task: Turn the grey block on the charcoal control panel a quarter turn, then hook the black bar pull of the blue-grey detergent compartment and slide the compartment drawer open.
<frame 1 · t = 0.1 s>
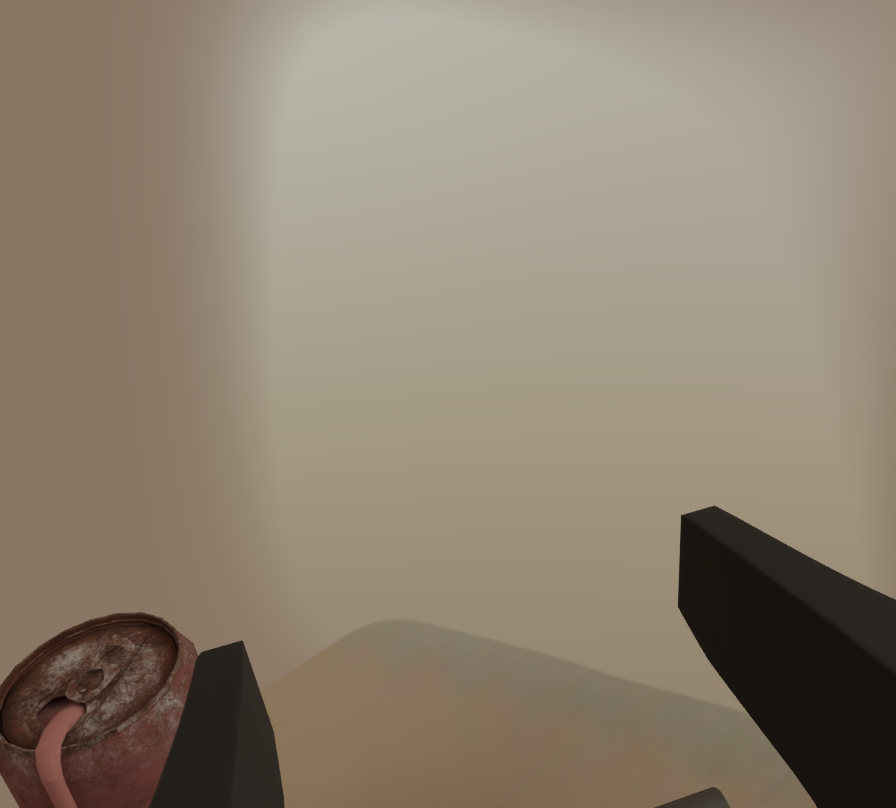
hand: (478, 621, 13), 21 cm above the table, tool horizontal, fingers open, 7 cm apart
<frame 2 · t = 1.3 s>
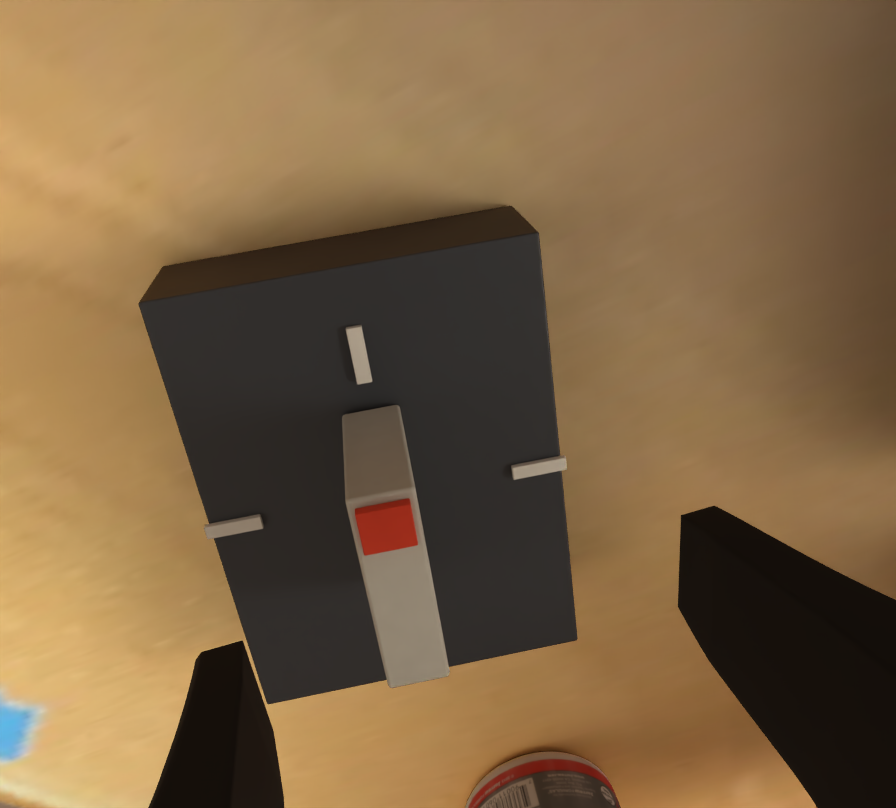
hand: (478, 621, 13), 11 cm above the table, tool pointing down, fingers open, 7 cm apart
control panel: (380, 440, 24), on the table
grey block: (394, 543, 19), point 5 cm above the table, hinge at 0.0°
pill bottle: (535, 796, 31), on the table
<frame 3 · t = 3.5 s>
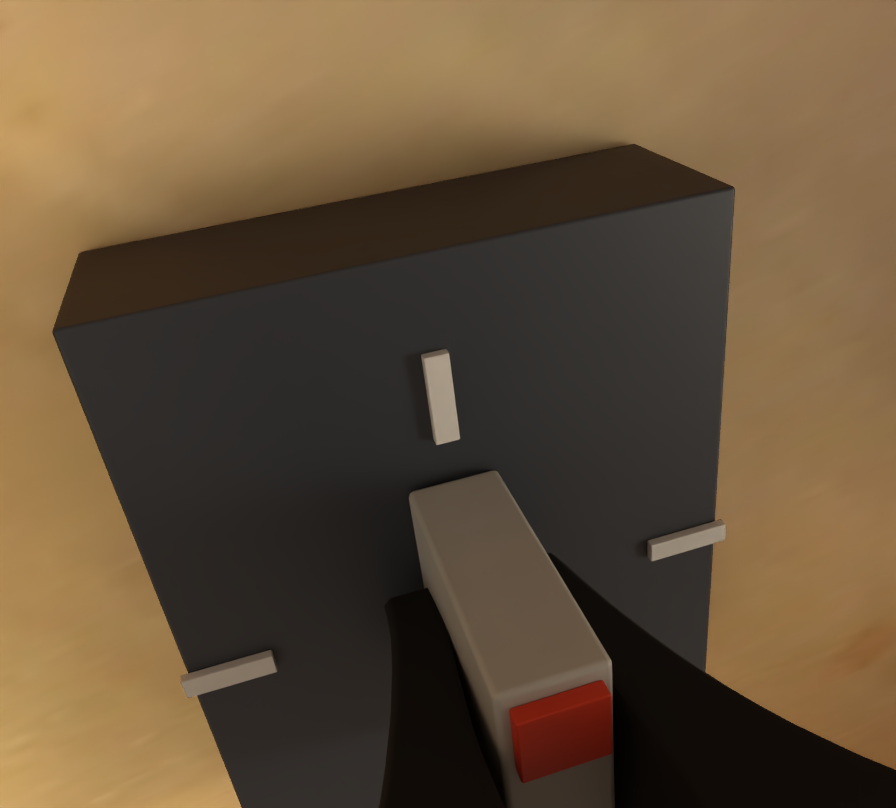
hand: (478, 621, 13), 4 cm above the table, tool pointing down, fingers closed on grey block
control panel: (423, 497, 16), on the table
grey block: (513, 702, 12), point 5 cm above the table, hinge at -0.1°, touching gripper
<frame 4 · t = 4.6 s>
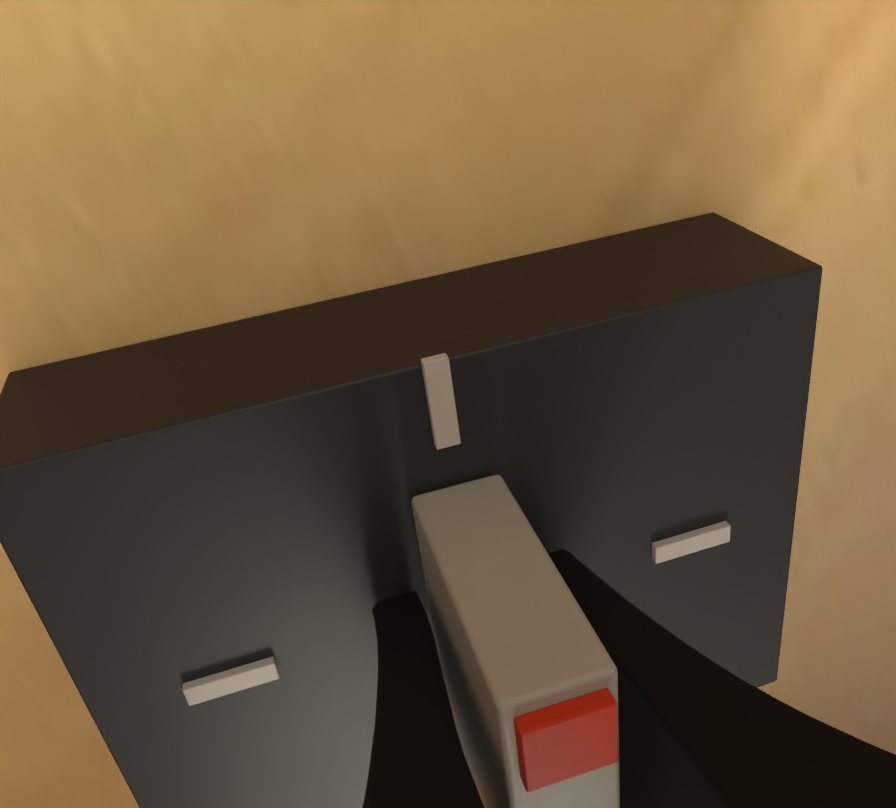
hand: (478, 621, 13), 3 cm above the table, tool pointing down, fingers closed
control panel: (425, 500, 16), on the table
grey block: (516, 708, 12), point 5 cm above the table, hinge at 89.3°
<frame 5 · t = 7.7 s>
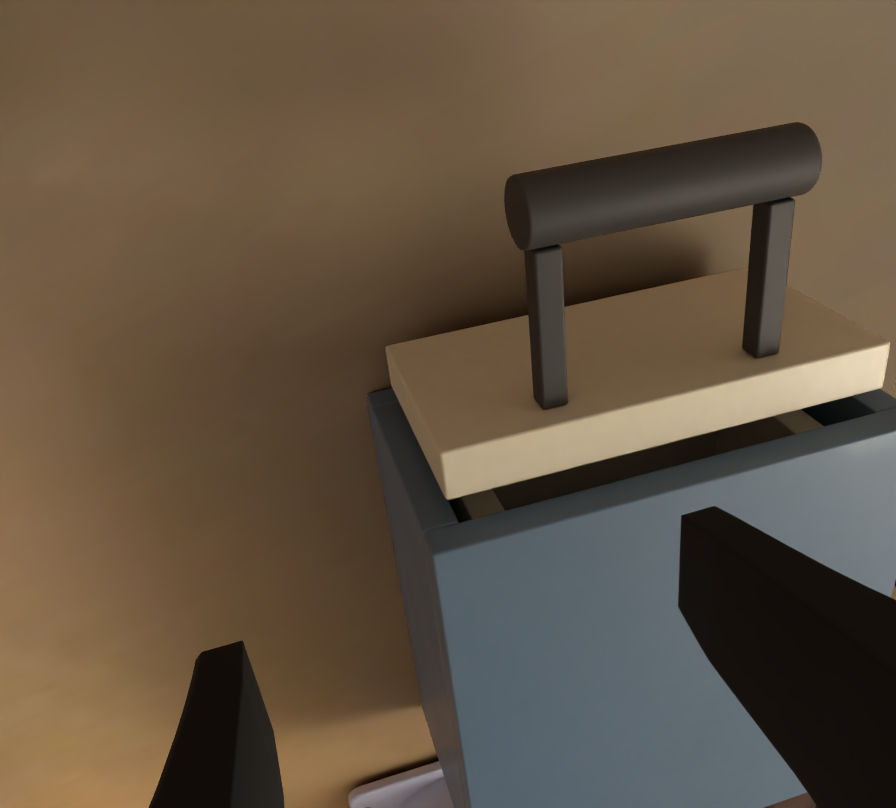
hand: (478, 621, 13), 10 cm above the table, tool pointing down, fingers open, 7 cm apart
figurine: (840, 687, 35), on the table
drawer: (621, 458, 21), point 4 cm above the table, slide at 0.5 cm
compartment: (572, 522, 27), on the table
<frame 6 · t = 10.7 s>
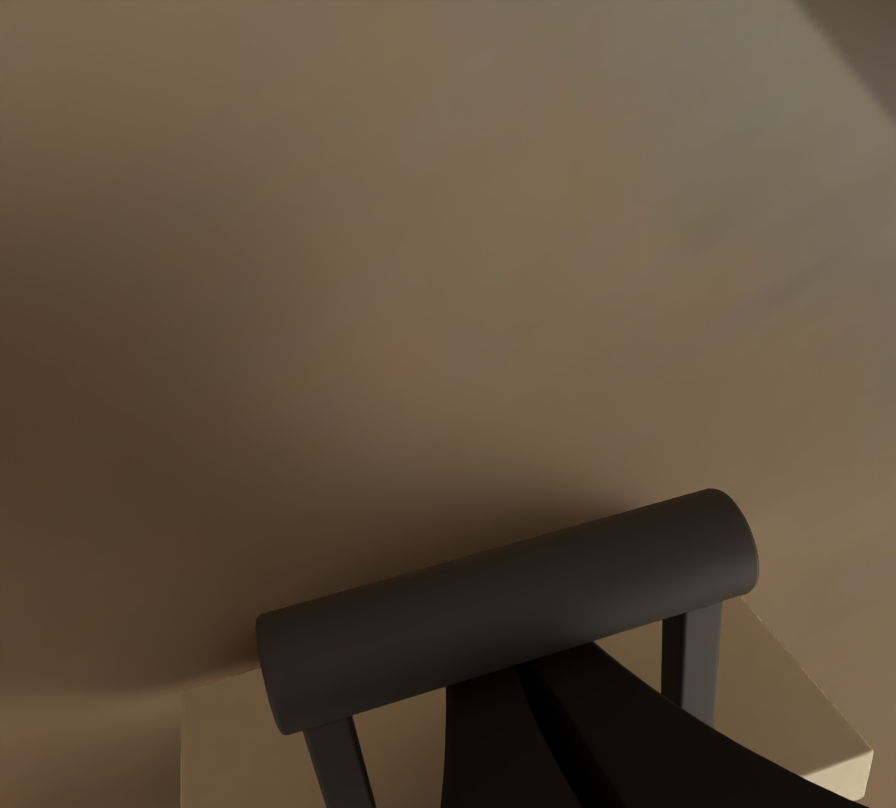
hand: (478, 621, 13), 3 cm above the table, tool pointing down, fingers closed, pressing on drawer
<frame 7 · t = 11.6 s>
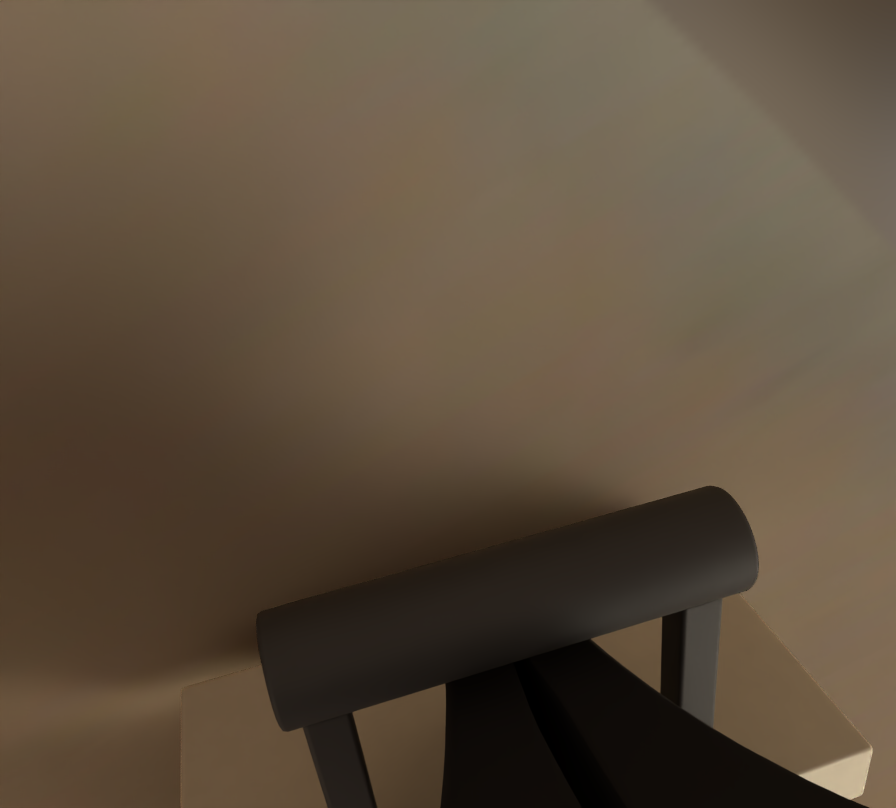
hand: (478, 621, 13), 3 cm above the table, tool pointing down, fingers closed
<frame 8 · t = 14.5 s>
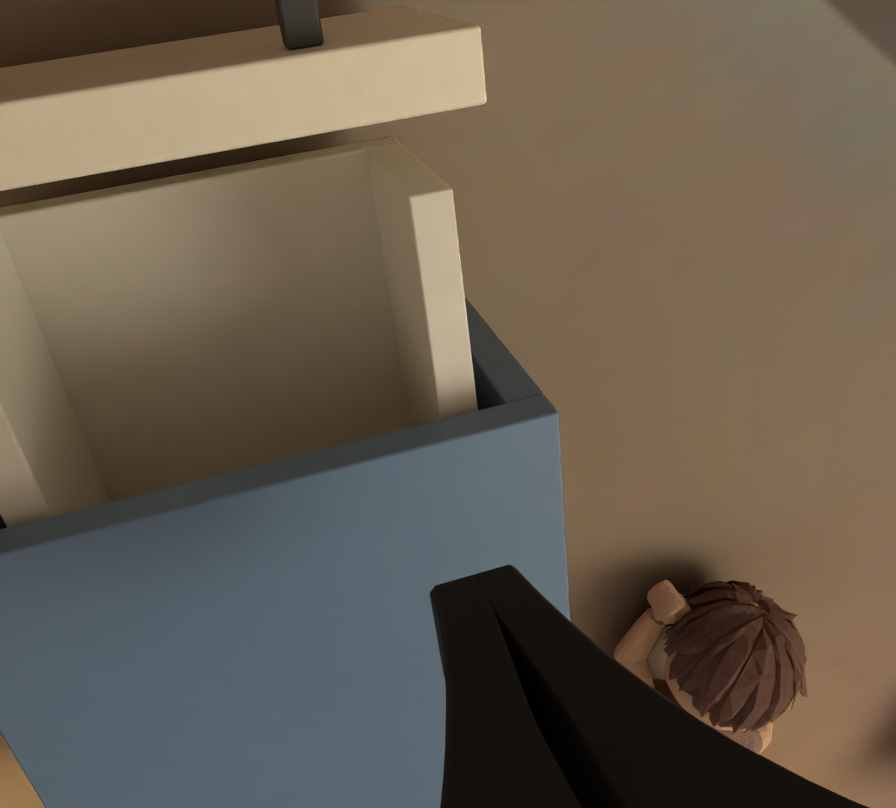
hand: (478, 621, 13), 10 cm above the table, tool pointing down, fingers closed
figurine: (657, 701, 33), on the table
drawer: (199, 241, 16), point 4 cm above the table, slide at 5.6 cm
compartment: (288, 528, 24), on the table
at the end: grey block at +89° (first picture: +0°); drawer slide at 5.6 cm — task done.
